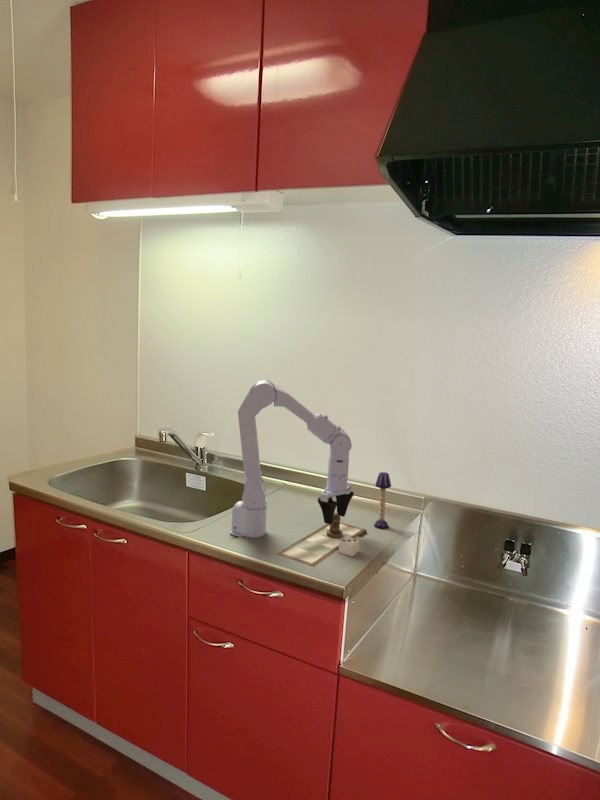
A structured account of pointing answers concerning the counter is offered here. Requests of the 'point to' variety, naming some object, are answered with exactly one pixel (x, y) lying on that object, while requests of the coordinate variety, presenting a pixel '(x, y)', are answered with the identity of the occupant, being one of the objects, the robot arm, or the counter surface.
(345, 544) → the die
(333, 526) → the pawn
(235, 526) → the robot arm
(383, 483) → the toy lamp
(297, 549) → the game board
